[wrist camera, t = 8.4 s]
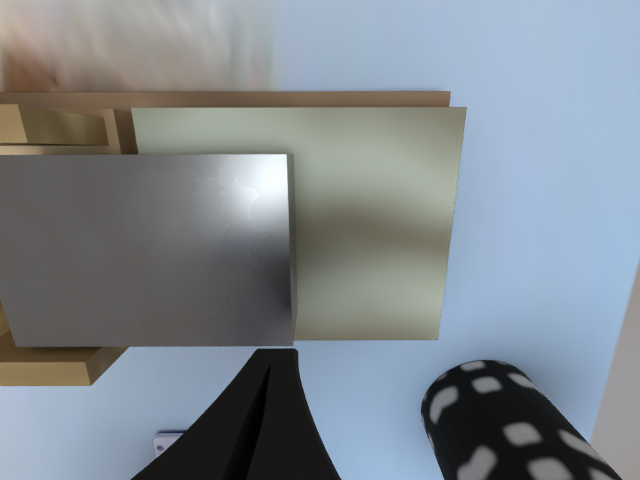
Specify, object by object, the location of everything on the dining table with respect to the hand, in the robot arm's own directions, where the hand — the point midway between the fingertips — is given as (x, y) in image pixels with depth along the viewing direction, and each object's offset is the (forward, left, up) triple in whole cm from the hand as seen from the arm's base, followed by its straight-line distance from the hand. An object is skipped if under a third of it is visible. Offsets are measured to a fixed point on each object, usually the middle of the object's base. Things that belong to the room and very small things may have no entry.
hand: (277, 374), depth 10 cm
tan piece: (+3, +7, -9) cm, 12 cm away
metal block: (+3, +6, -6) cm, 9 cm away
